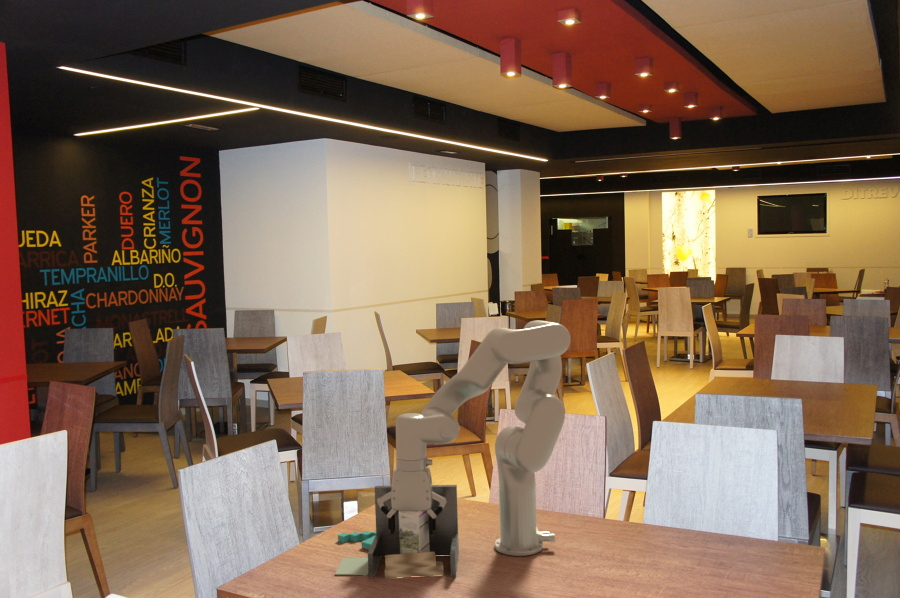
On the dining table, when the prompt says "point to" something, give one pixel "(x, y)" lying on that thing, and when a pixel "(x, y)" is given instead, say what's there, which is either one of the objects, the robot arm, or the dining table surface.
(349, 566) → the mat
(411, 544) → the syrup box
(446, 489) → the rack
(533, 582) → the dining table surface
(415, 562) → the offcut stack
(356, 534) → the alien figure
